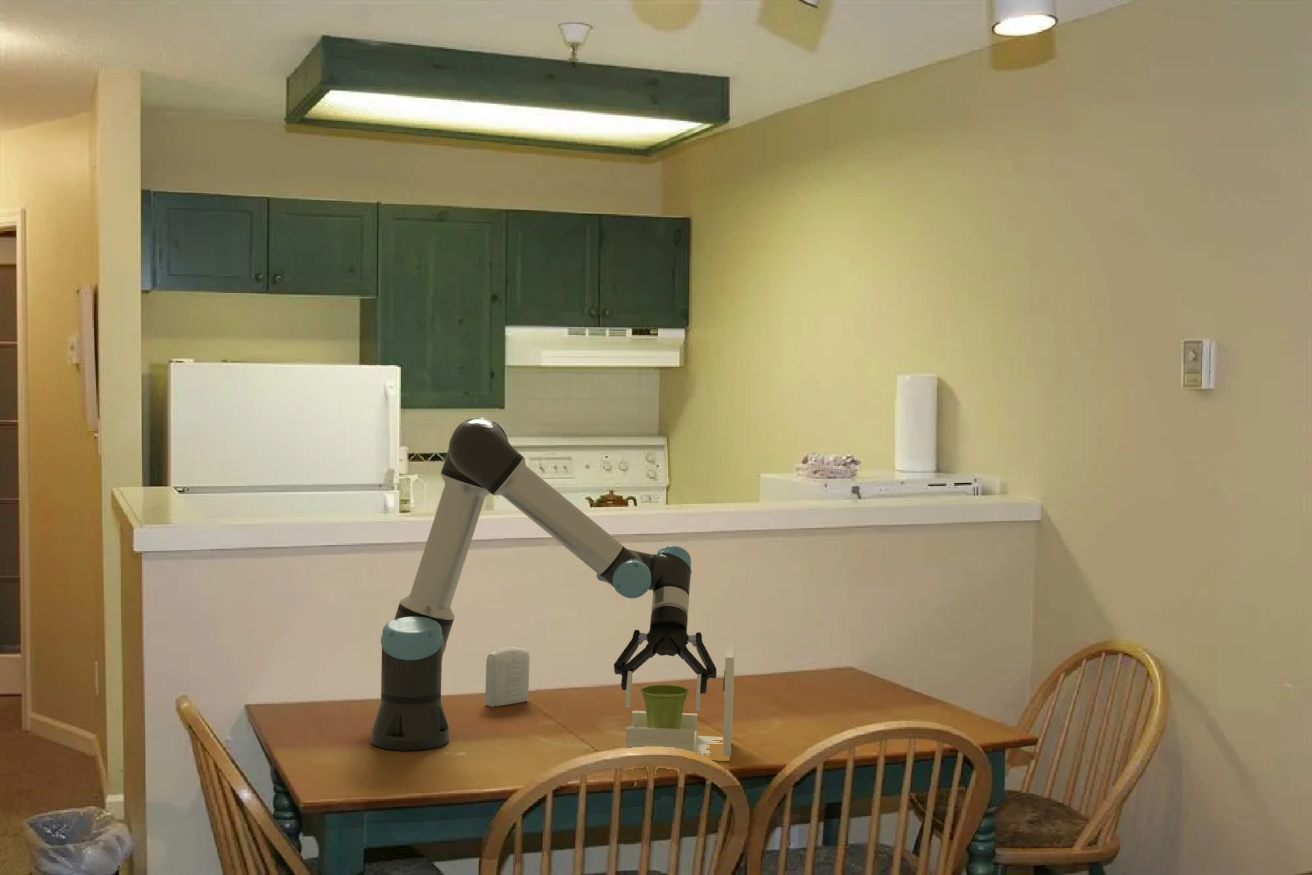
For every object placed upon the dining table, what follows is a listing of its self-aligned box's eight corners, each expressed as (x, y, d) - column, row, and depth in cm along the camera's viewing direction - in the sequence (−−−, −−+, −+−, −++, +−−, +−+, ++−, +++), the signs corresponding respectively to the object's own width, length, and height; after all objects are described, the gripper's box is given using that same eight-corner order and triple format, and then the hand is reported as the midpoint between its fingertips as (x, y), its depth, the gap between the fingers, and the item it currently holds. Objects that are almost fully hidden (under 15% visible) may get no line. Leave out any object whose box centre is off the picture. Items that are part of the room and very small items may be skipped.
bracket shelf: (632, 737, 283) (634, 639, 282) (731, 742, 282) (734, 643, 280) (625, 756, 269) (628, 653, 268) (730, 761, 268) (733, 657, 267)
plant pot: (646, 740, 270) (647, 695, 269) (634, 728, 279) (635, 684, 278) (693, 738, 272) (694, 694, 272) (679, 726, 281) (680, 683, 281)
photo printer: (519, 697, 314) (520, 643, 313) (531, 701, 311) (532, 646, 310) (482, 704, 307) (483, 648, 306) (494, 708, 304) (495, 651, 303)
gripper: (730, 627, 289) (726, 717, 275) (609, 622, 291) (599, 712, 276) (730, 606, 283) (727, 697, 269) (607, 601, 285) (597, 691, 271)
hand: (662, 705), depth 273 cm, fingers open, 13 cm apart
